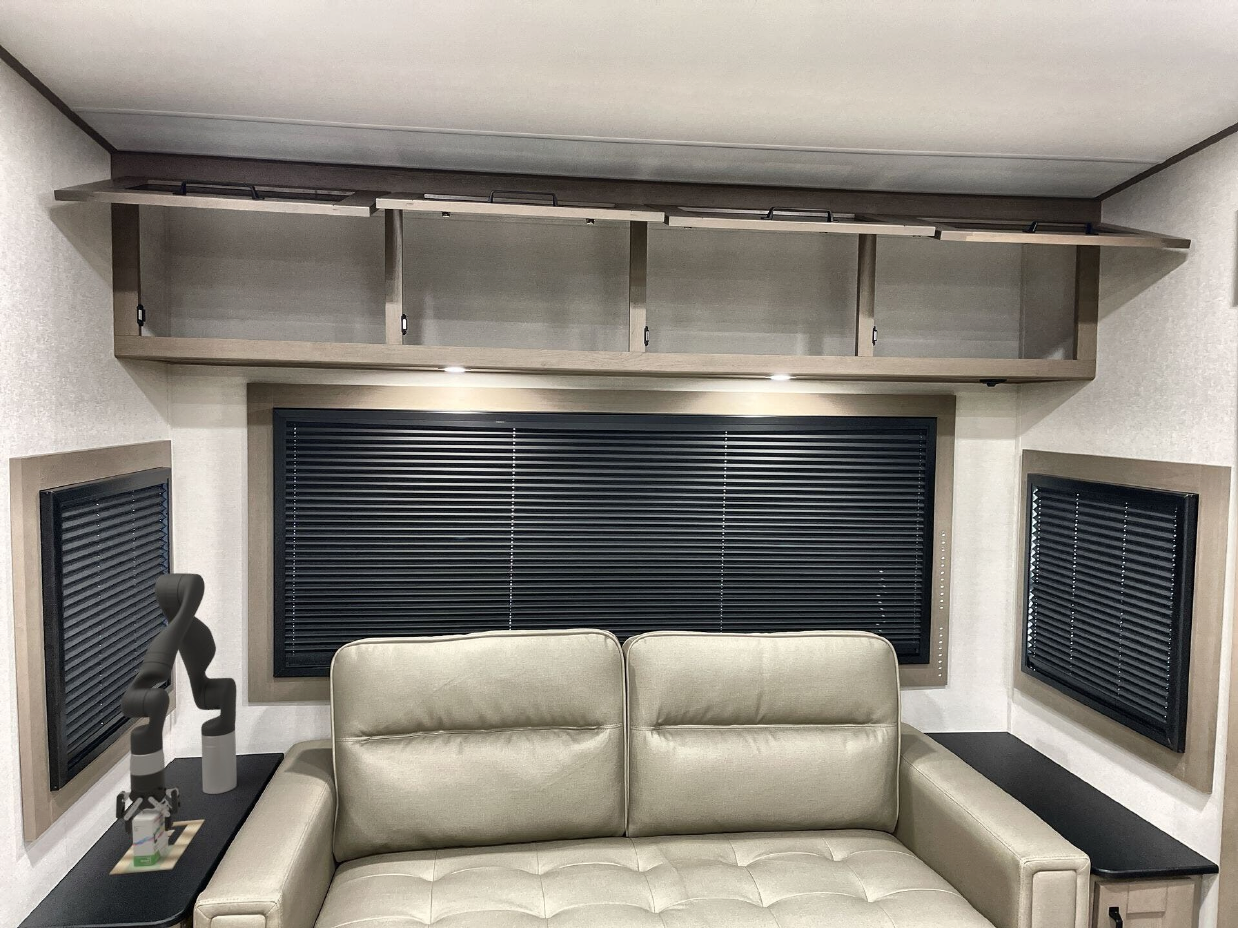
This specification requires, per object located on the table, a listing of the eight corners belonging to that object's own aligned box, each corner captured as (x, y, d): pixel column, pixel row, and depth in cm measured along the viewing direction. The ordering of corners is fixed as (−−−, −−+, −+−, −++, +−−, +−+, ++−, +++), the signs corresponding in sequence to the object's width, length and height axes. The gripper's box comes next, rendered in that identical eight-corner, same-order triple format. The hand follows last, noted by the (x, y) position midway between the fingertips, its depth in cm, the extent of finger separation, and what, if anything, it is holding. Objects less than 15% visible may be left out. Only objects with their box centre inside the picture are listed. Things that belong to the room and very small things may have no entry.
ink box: (153, 865, 206) (152, 818, 205) (132, 866, 205) (131, 819, 205) (169, 848, 214) (168, 803, 214) (149, 849, 214) (147, 804, 213)
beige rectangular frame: (149, 825, 228) (149, 823, 228) (204, 820, 231) (204, 818, 231) (109, 874, 202) (109, 872, 202) (171, 868, 205) (171, 867, 205)
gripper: (183, 759, 214) (184, 821, 214) (122, 763, 211) (124, 826, 212) (173, 771, 206) (174, 835, 207) (110, 776, 204) (112, 841, 204)
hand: (149, 831), depth 209 cm, fingers open, 8 cm apart
